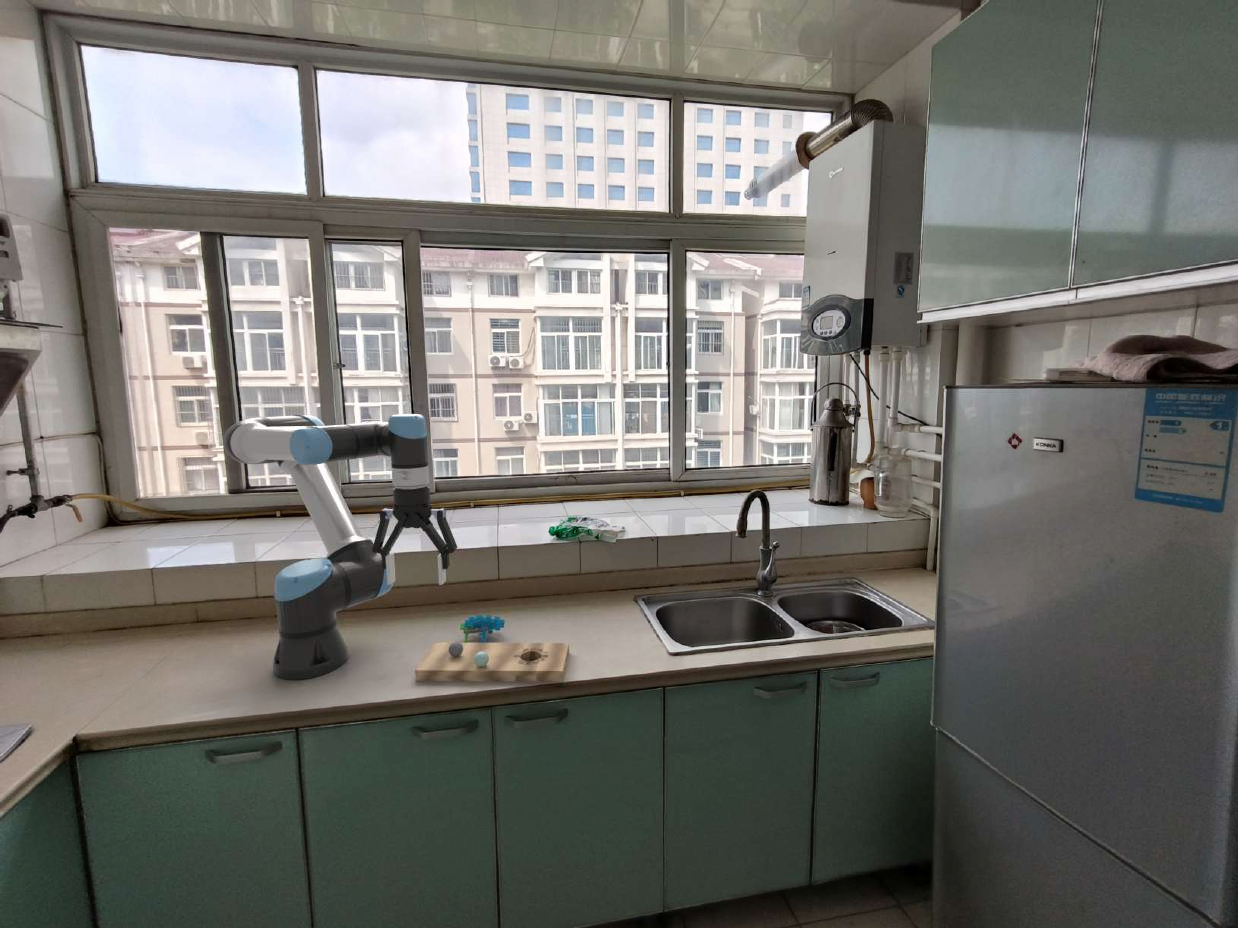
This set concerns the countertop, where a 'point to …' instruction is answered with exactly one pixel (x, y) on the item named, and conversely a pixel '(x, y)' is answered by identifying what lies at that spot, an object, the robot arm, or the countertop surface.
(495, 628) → the gear
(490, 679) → the board
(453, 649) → the grey ball
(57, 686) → the countertop surface
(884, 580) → the countertop surface
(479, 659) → the teal ball
